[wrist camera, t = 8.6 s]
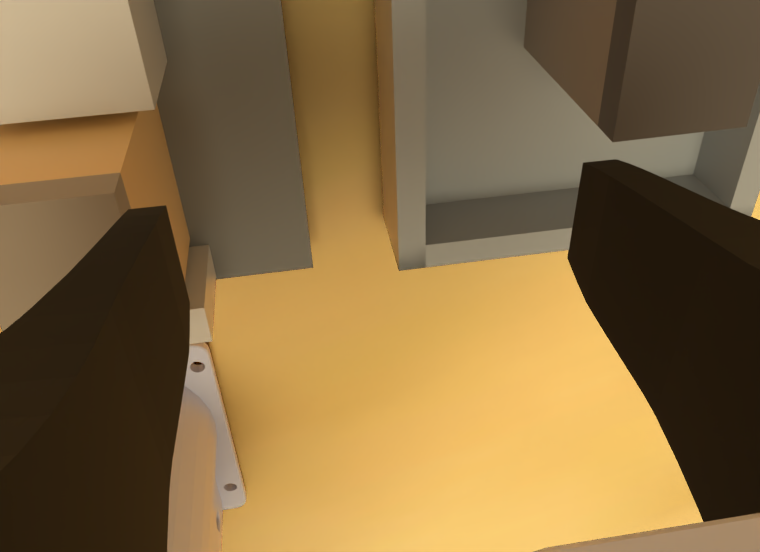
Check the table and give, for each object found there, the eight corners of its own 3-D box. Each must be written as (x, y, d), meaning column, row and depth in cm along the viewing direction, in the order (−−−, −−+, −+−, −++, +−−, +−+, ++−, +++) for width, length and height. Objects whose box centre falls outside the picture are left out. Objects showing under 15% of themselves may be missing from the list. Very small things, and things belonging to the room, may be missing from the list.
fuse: (189, 238, 21) (173, 382, 16) (85, 250, 20) (36, 401, 16) (149, 74, 18) (114, 193, 13) (27, 85, 17) (-57, 211, 13)
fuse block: (216, -535, 13) (203, -646, 9) (309, 241, 23) (320, 329, 20) (-381, -530, 12) (-652, -650, 8) (-5, 277, 22) (-52, 378, 19)
